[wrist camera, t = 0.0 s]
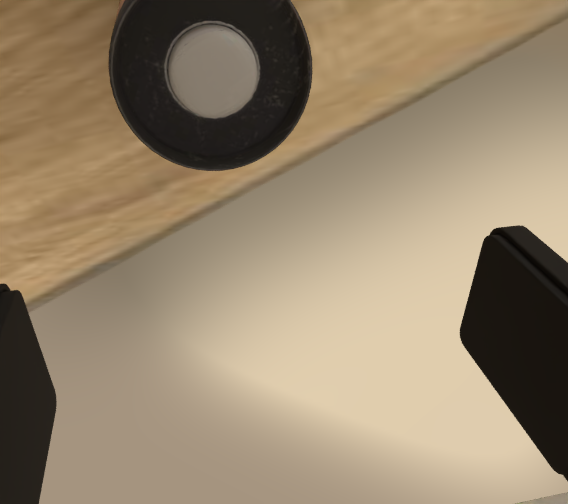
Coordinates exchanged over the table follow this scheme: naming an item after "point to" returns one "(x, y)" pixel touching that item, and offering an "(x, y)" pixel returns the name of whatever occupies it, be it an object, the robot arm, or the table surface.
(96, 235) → the table surface
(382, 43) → the table surface
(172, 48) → the travel mug
